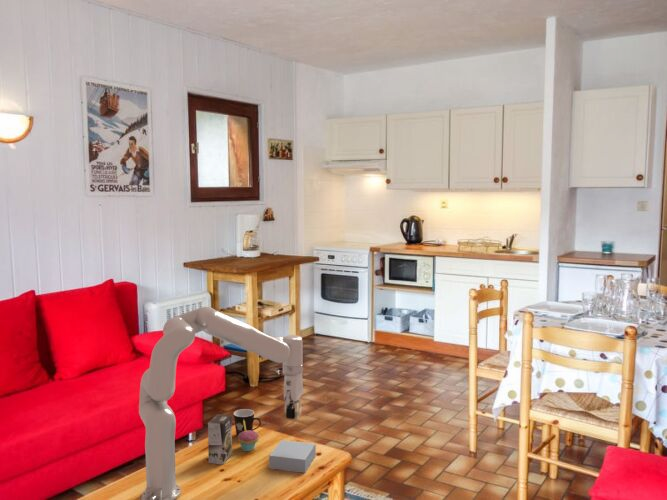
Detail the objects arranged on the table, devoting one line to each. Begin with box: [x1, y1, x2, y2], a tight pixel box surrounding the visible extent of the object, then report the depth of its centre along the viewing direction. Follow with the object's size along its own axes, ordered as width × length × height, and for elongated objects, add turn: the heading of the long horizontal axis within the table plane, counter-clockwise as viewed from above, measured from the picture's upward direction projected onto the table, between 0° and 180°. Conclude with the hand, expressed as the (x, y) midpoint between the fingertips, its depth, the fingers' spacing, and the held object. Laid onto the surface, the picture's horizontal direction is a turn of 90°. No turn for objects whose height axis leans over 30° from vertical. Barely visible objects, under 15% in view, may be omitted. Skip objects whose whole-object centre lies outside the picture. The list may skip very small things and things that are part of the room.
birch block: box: [284, 398, 302, 421], centre depth 222 cm, size 5×5×6 cm
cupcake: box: [236, 419, 260, 452], centre depth 235 cm, size 9×8×12 cm
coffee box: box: [207, 413, 233, 465], centre depth 226 cm, size 9×6×16 cm
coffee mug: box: [233, 408, 262, 437], centre depth 246 cm, size 12×9×10 cm
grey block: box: [268, 439, 317, 474], centre depth 224 cm, size 14×14×5 cm
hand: (292, 414), depth 222 cm, fingers closed on birch block, 5 cm apart
